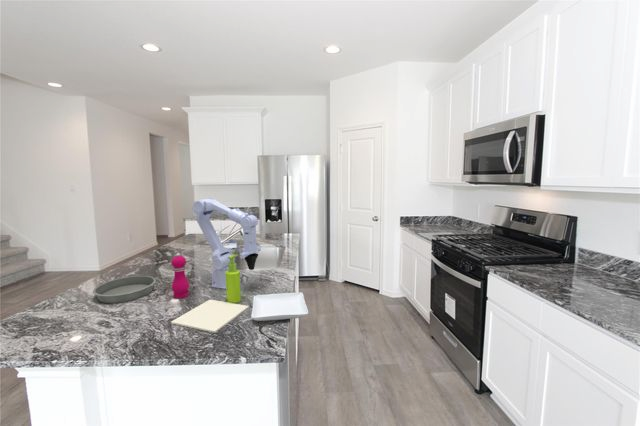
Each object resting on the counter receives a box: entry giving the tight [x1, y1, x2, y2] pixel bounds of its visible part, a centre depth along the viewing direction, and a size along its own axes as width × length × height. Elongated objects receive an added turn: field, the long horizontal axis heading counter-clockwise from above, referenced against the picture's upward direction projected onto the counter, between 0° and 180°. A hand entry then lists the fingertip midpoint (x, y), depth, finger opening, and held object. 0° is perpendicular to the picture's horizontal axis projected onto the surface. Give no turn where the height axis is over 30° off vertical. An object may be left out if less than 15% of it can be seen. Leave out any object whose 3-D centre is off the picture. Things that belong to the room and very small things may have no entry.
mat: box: [170, 299, 250, 334], centre depth 119 cm, size 20×21×1 cm
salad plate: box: [250, 291, 309, 322], centre depth 122 cm, size 21×21×3 cm
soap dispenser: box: [225, 254, 242, 304], centre depth 131 cm, size 6×7×20 cm
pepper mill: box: [170, 252, 190, 299], centre depth 136 cm, size 7×7×20 cm
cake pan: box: [92, 275, 156, 304], centre depth 141 cm, size 25×25×4 cm
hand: (251, 269), depth 143 cm, fingers closed
